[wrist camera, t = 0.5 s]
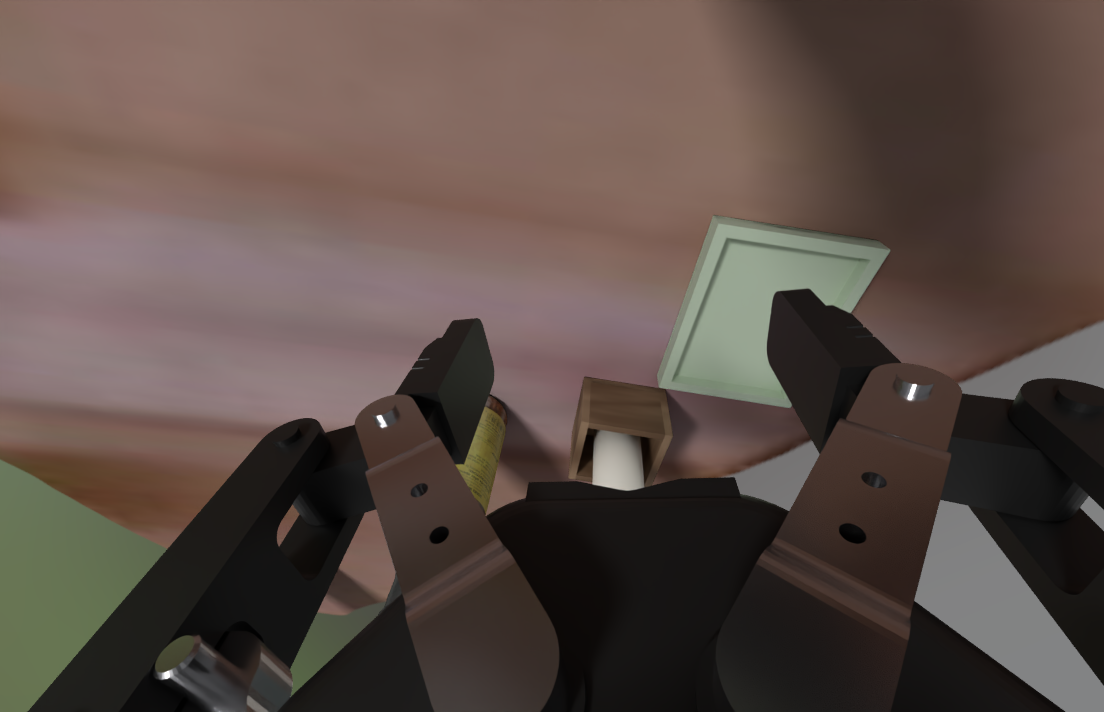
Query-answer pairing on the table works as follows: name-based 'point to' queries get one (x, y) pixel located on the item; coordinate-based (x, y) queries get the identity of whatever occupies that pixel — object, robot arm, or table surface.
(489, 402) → the sauce bottle
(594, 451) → the dowel
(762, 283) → the tray
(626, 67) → the table surface
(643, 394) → the pen cup
